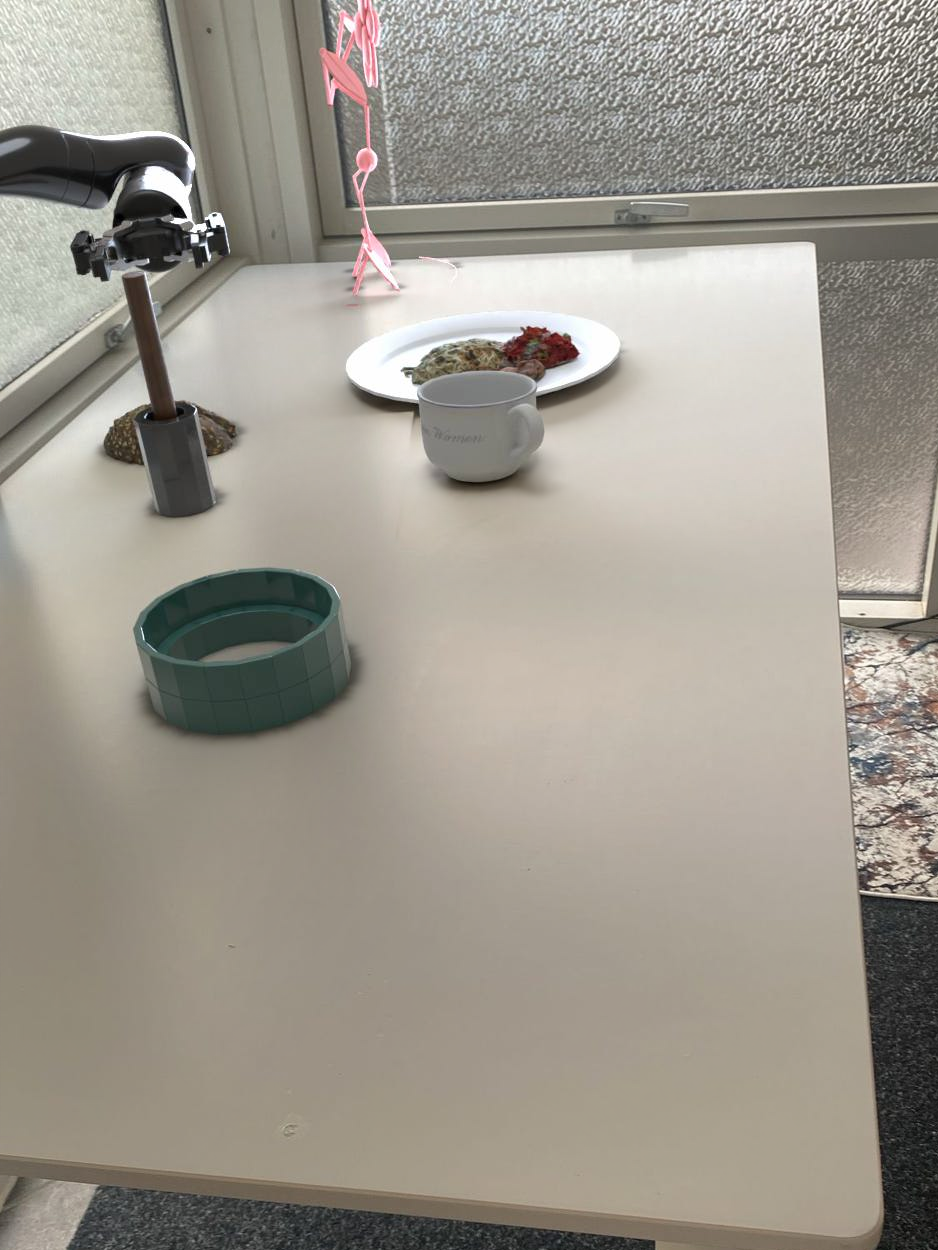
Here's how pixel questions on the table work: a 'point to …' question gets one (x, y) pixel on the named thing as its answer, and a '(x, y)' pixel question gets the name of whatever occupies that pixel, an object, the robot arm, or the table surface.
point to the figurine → (367, 39)
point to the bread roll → (126, 444)
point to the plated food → (484, 351)
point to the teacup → (479, 423)
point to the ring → (237, 616)
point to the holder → (176, 462)
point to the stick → (149, 345)
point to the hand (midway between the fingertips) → (149, 263)
